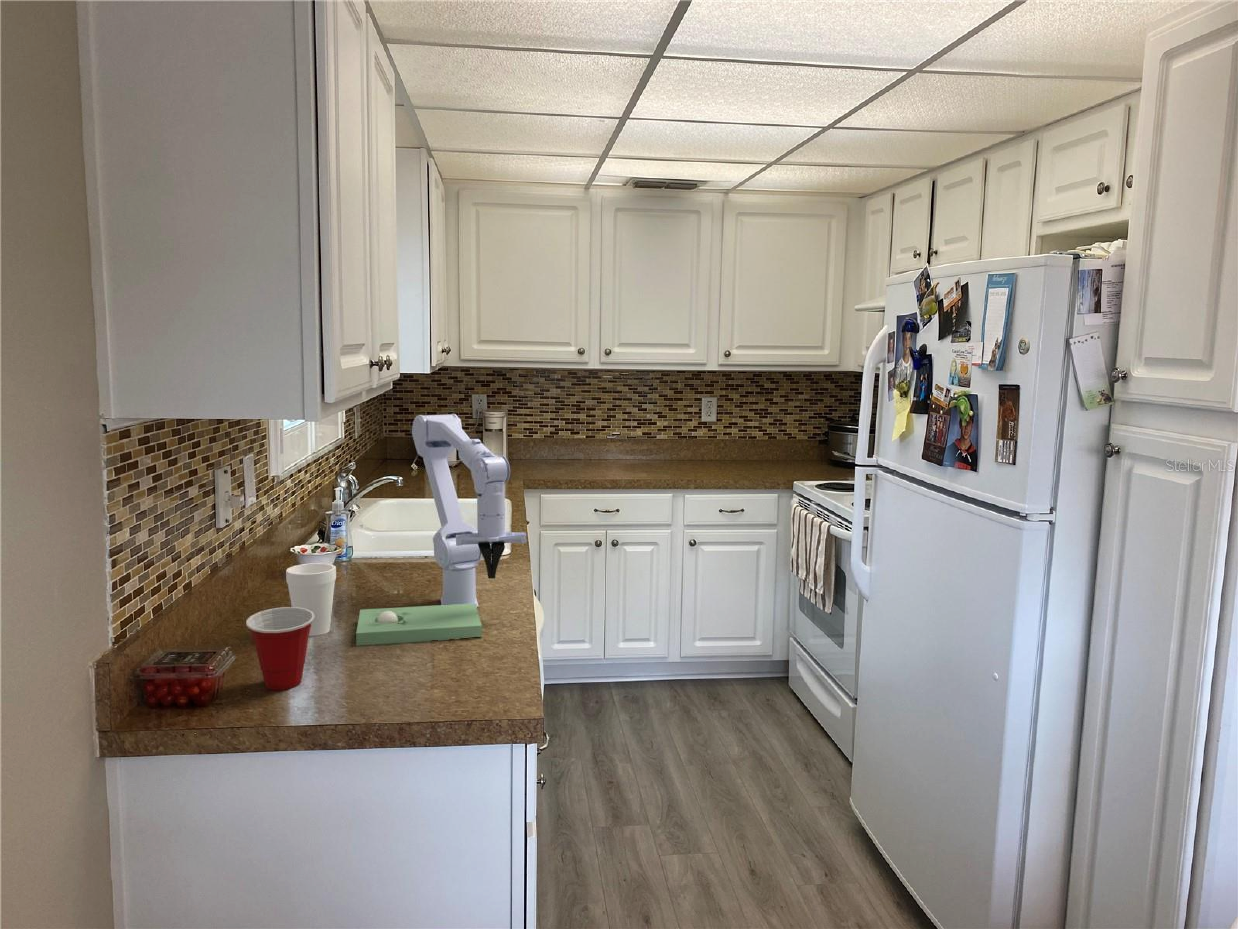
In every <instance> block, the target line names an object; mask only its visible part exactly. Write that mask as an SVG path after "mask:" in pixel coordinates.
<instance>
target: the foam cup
mask: <svg viewBox="0 0 1238 929" xmlns="http://www.w3.org/2000/svg"><path fill="white" fill-rule="evenodd" d="M285 578H286V580H285V582H286V584H287V587H288V592H289V593H288V594H289V599H290V603H291V607H298V608H304V609H308V610H310V611H312V612H313V613H314V616H315V617H314V620H313V621H312V623H311V628H310V633H309V636H308V637H315V636H321V635H325V634H327V633H328V632H329V631H330V630H331V619H332V612H333V602H334V592H335V583H336V579H337V567H336V566H335V565H334V564H331V563H324V562H318V563H317V562H313V563H312V562H311V563H304V564H297V565H292V566H290V567H287V569H286V571H285Z"/></svg>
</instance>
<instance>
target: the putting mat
mask: <svg viewBox="0 0 1238 929" xmlns="http://www.w3.org/2000/svg"><path fill="white" fill-rule="evenodd" d="M385 611H391V612H393V613H395V614H396V616H397V618H398V622H396V623H385V624H382V623H378V617H379V616H380V614H381V613H383V612H385ZM482 631H483V625H482V621H481V617H480V613H479V611H478V608H477V607H476V603H472V604H454V605H441V604H440V605H439V604H438V605H420V606H419V605H418V606H402V607H386V608H385V607H383V608H367V609H360V610H359V615H358V621H357V626H356V632H355V636H356V640H355V641H356V646H357V647H358V646H371V645H372V646H373V645H387V644H388V645H389V644H392V645H393V644H404V643H405V644H406V643H417V642H419V643H420V642H422V641H423V642H432V641H431V640H438V641H449V639H454V640H456V639H455V638H465V637H482V638H483V632H482ZM423 642H422V643H423Z"/></svg>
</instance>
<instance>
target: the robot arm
mask: <svg viewBox="0 0 1238 929" xmlns="http://www.w3.org/2000/svg"><path fill="white" fill-rule="evenodd" d="M411 435H412V439H413V442H414V446H415V449H416V453H417V454H418V455H419V456H420V457H421V458H423V463H424V466H425V471H426V474H427V478H428V481H429V486H430V489H431V493H432V497H433V501H434V503H435V507H436V511H437V514H438V518H439V522H440V526H441V527H440V528H439V529H438V530H437V531H436V533H434V536H433V537H432V542H433V556H434V559H435V562H436V564H437V565H439V567H440V568H442V594H443V595H442V596H441V597H440V603H441V604H440V605H454V604H472V603H476V607H478V606H479V603H478V599H477V595H476V594H477V593H476V592H477V591H476V588H477V587H476V585H477V584H476V567H478V566H479V562H480V561H482V558H483V559H484V563H485V567H486V572H487V578H488V579H489V580H490V579H496V574H497V569H498V567H499V566H498V565H499V562H500V559H501V558H502V555H503V553H504V552H505V549H506V546H505V544H513V543H514V544H516V543H517V544H518V543H519V544H527V534H526V532H525V531H524V532H520V531H519V532H517V531H516V532H514V531H513V532H511V531H506V528H505V527H506V513H505V511H506V509H505V508H506V507H505V505H506V504H505V503H506V502H505V500H506V498H505V497H506V496H505V494H506V493H505V491H506V490H505V487H506V485H505V483H507V482H508V481H509V479H510V477H511V467H510V463H509V460H508V459H507V457H506V456H505V455H503V454H502V455H498V454H497V455H495V454H494V453H493V452H491V451H490V449H489V448H488V447H487V446H485V445H484V443H482V441H481V440H480V438H470V437H469V435H468V434H467V433H466V432H465V430H464V429H463V428H462V420H461V418H460V417H459V416H458V415H457V414H455V413H451V414H429V415H423V414H418V415H416V416H415V417H414V420H413V422H412V429H411ZM455 450H457V451H458V459H459V460H460V461H461V462H462V463H463V464H464V465H465V466H466V467H467V468H468V469H469V470H470V474H471V479H472V481H473V485H474V488H473V489H474V492H475V493H476V507H477V508H476V510H477V512H476V513H477V518H476V519H477V521H476V522H477V524H476V525H477V527H475V526H473V525H472V524H470V523H468V522H466V521H465V520H464V517H463V513H462V510H461V506H460V503H459V499H458V496H457V495H458V494H457V492H456V488H455V484H454V482H453V478H452V473H451V470H450V467H449V463H448V460H447V458H448V456H449V455H452V454H453V453H454V452H455ZM479 607H480V606H479Z"/></svg>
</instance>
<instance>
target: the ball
mask: <svg viewBox="0 0 1238 929" xmlns="http://www.w3.org/2000/svg"><path fill="white" fill-rule="evenodd" d="M396 622H398V618H397V616H396V614H395V613H393V612H391V611H385V612H383V613H381V614H380V616H379V617H378V623H382V624H385V623H396Z"/></svg>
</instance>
